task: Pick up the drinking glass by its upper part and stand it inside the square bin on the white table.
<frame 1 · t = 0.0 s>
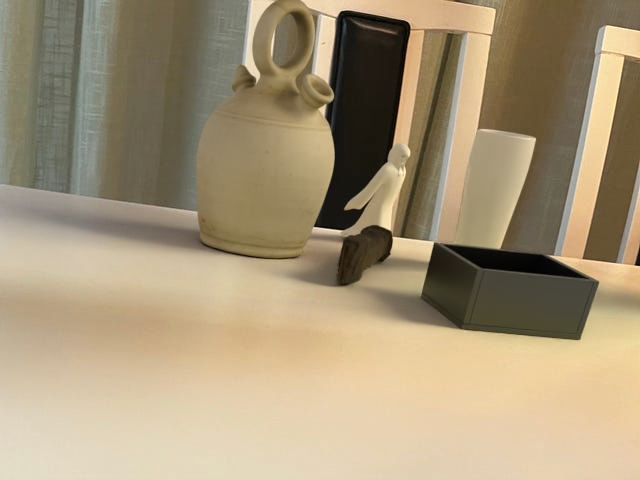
figurine: (363, 243, 130), on the table
rough brown chunk: (361, 275, 113), on the table
bin: (497, 317, 101), on the table
drinking glass: (469, 272, 122), on the table
jug: (251, 248, 118), on the table
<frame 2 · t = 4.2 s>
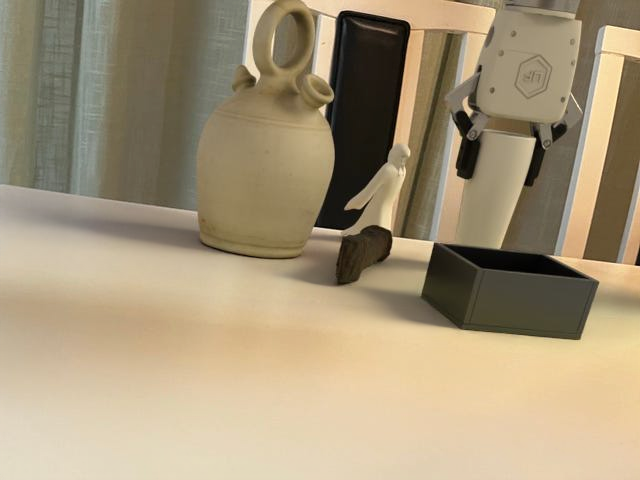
hand: (494, 180, 116), 10 cm above the table, tool pointing down, fingers closed on drinking glass, 6 cm apart
drinking glass: (469, 272, 122), on the table, touching gripper
everything else where it was.
when the fingers open (11 cm above the table, at t = 13.1 s): drinking glass stays where it is, resting on bin.
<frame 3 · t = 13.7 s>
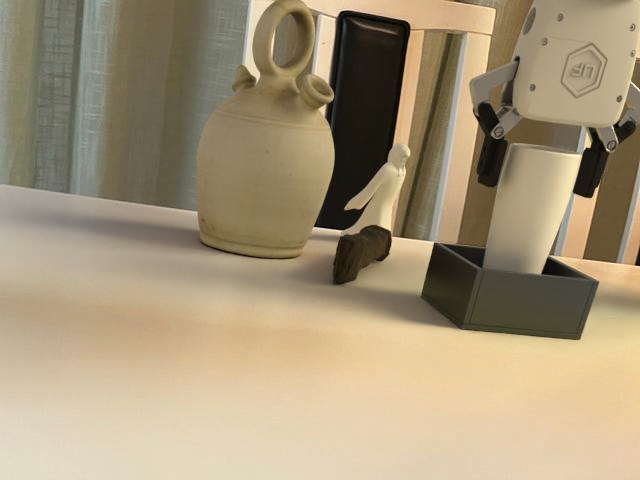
hand: (534, 190, 95), 12 cm above the table, tool pointing down, fingers open, 9 cm apart
drinking glass: (498, 314, 101), resting on bin
everything else where it was.
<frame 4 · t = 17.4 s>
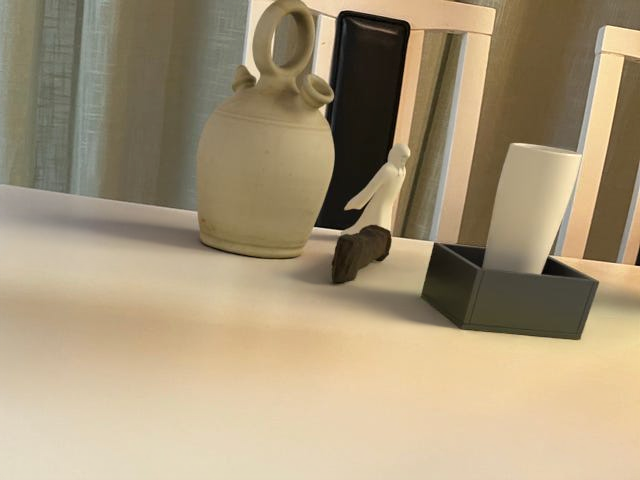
nothing on the table moved.
at the end: drinking glass inside the target area in the bin (0.1 cm from its centre), point 0.3 cm above the bin's base; drinking glass tilted 0°; the gripper is holding nothing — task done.
